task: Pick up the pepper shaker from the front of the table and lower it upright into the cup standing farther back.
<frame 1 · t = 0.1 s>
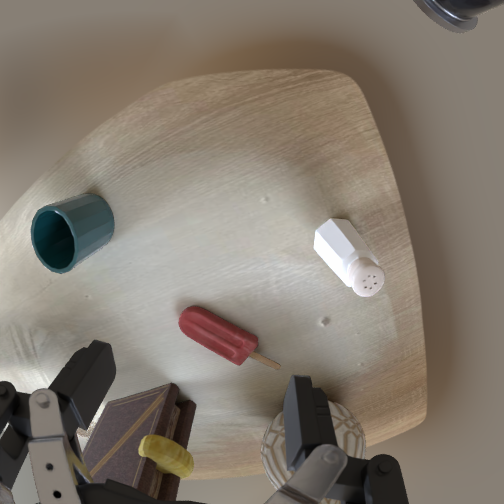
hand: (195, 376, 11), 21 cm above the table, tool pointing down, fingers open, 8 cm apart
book: (150, 403, 41), on the table
vase: (308, 413, 41), on the table
popsicle: (233, 338, 36), on the table
pepper shaker: (335, 239, 31), on the table
cup: (90, 221, 31), on the table
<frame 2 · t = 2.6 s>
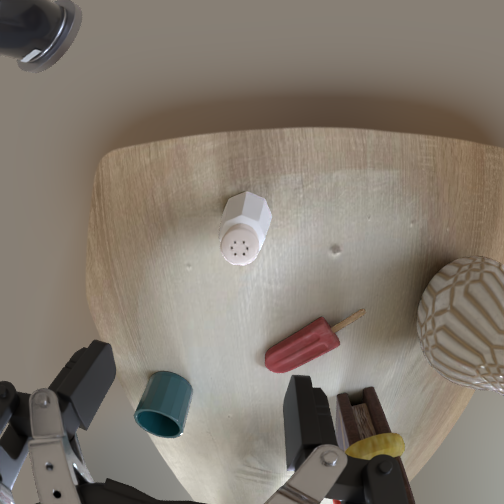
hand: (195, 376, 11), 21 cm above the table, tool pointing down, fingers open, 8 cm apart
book: (352, 417, 42), on the table
vase: (445, 293, 33), on the table
popsicle: (313, 335, 35), on the table
pepper shaker: (246, 215, 30), on the table
cup: (170, 387, 39), on the table
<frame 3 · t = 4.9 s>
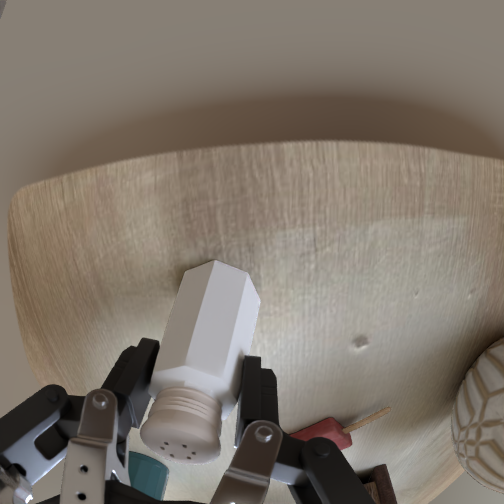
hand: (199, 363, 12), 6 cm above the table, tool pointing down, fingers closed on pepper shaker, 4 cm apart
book: (358, 487, 29), on the table
vase: (487, 367, 20), on the table
popsicle: (318, 433, 23), on the table
pepper shaker: (218, 297, 18), on the table, touching gripper
cup: (143, 464, 27), on the table
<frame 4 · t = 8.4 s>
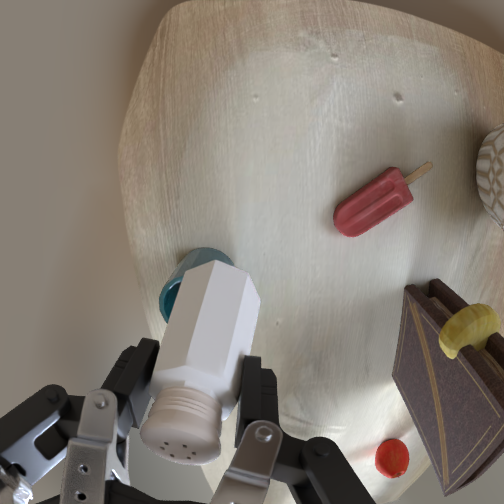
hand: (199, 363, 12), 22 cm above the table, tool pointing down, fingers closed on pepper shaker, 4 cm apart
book: (415, 328, 37), on the table
vase: (492, 172, 28), on the table
apple: (387, 443, 49), on the table
popsicle: (384, 192, 30), on the table
pepper shaker: (218, 297, 18), point 15 cm above the table, touching gripper
cup: (207, 275, 34), on the table
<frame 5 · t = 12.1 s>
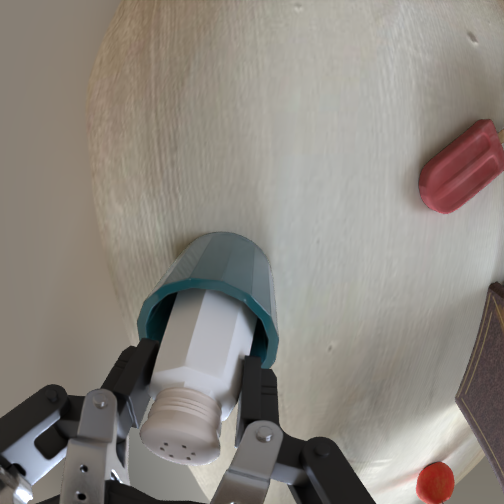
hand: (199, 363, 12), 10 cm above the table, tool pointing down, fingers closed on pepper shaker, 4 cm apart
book: (489, 338, 23), on the table
apple: (429, 467, 35), on the table
popsicle: (474, 153, 17), on the table
pepper shaker: (218, 297, 18), point 3 cm above the table, touching gripper
cup: (223, 278, 21), on the table
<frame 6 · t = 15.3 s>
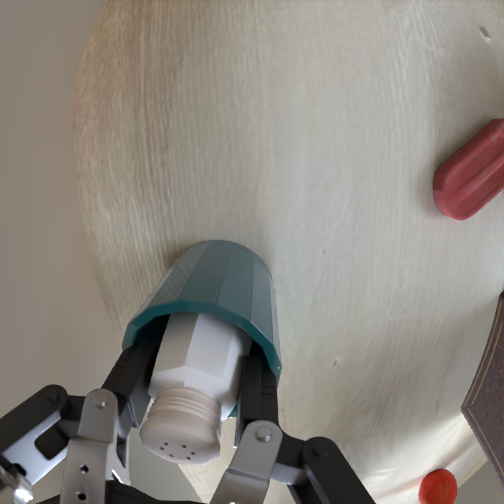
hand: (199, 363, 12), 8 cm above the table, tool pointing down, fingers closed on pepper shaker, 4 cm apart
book: (498, 347, 21), on the table
apple: (431, 473, 33), on the table
popsicle: (489, 155, 15), on the table
pepper shaker: (218, 297, 18), point 1 cm above the table, touching gripper
cup: (220, 290, 19), on the table
when the fingers open (9 cm above the table, at t = 19.5 s): pepper shaker drops 2 cm, resting on cup.
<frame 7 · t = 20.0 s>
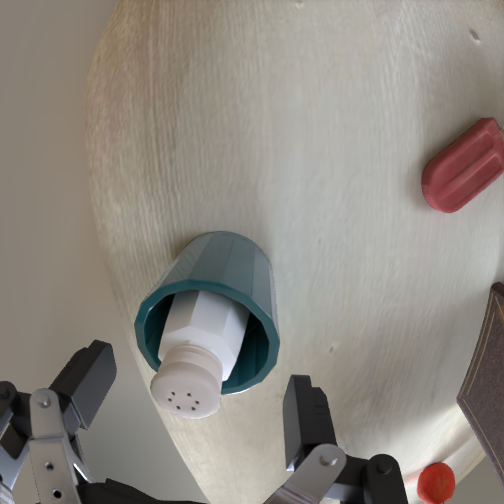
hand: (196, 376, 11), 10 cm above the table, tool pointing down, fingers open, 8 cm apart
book: (491, 338, 23), on the table
apple: (430, 467, 34), on the table
popsicle: (477, 152, 16), on the table
pepper shaker: (219, 279, 20), point 1 cm above the table, touching cup
cup: (223, 278, 21), on the table
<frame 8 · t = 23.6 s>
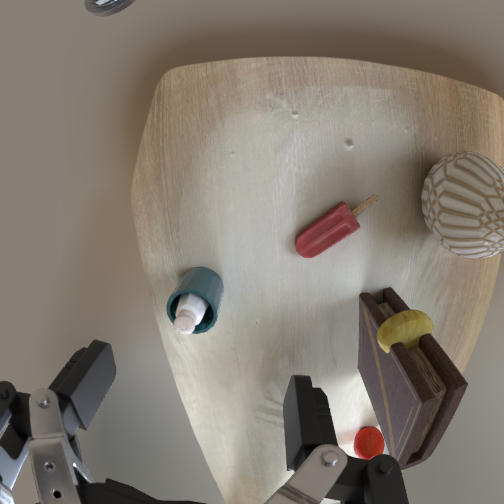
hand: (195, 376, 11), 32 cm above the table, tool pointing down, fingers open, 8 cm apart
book: (374, 328, 48), on the table
vase: (443, 195, 39), on the table
apple: (365, 430, 59), on the table
popsicle: (336, 221, 41), on the table
pepper shaker: (200, 287, 45), point 1 cm above the table, touching cup
cup: (201, 287, 45), on the table
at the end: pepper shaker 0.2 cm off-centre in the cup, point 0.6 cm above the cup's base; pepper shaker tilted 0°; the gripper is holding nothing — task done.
